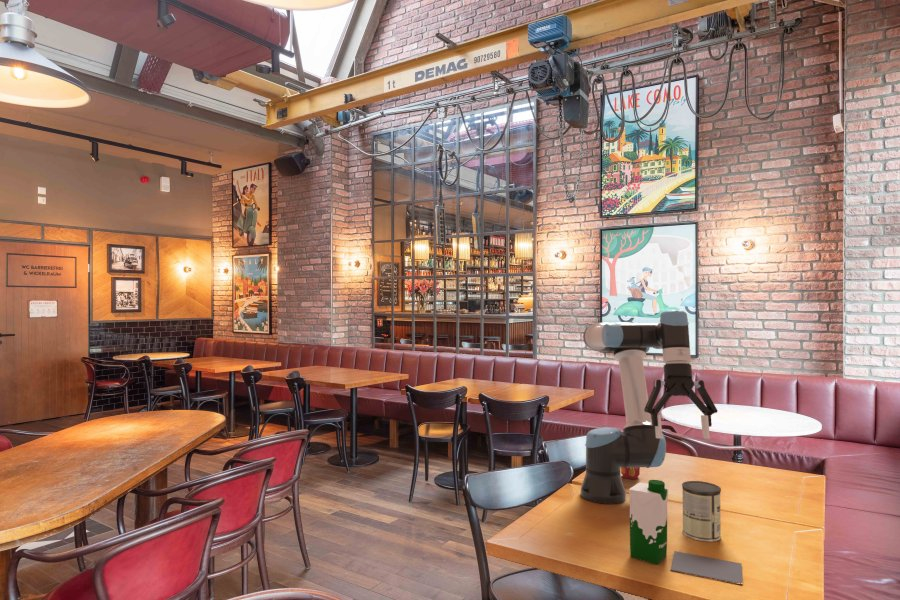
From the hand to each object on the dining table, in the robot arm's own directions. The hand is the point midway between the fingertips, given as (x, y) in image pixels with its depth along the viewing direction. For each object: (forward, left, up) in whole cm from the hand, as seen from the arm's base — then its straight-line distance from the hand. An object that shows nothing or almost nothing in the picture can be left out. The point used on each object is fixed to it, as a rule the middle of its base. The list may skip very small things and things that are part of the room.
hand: (682, 438), depth 157 cm
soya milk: (-7, -15, -29) cm, 33 cm away
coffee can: (+5, +7, -29) cm, 30 cm away
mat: (+7, -15, -29) cm, 33 cm away
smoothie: (-22, +55, -29) cm, 66 cm away
